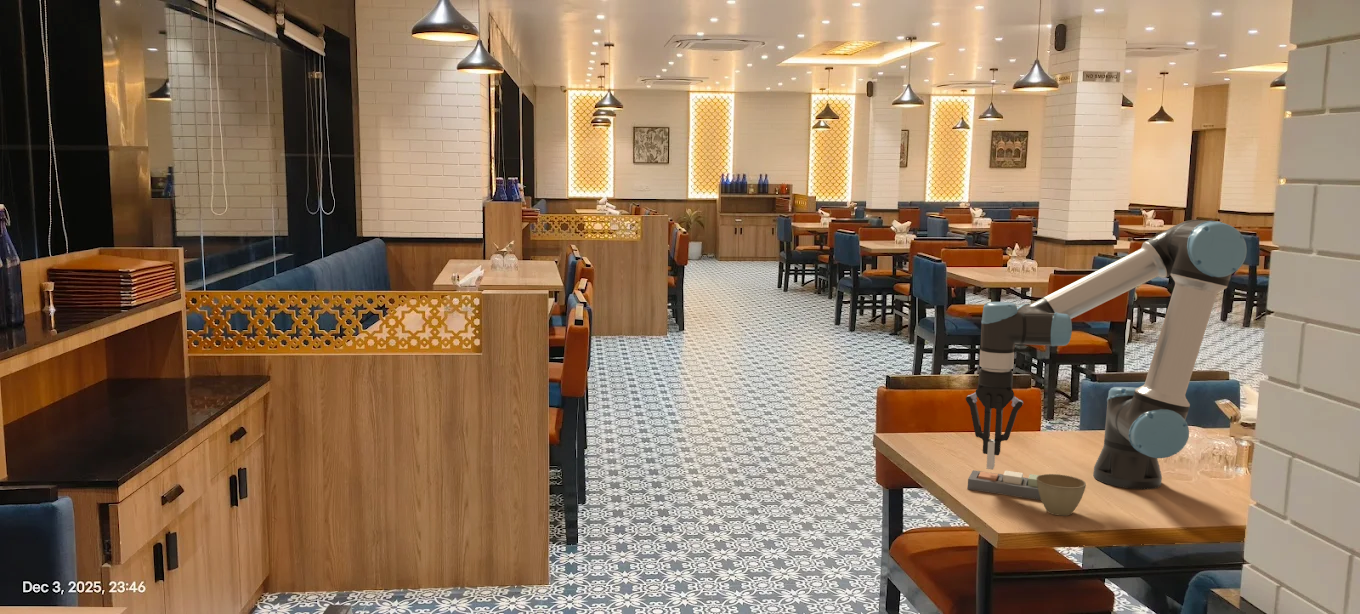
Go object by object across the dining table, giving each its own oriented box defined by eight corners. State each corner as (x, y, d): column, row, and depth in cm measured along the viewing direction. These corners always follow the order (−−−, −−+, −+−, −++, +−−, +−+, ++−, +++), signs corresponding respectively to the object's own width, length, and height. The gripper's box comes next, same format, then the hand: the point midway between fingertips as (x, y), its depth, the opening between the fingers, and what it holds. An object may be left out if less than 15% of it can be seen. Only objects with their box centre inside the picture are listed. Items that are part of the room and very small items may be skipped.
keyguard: (1056, 492, 227) (1057, 482, 226) (1054, 502, 219) (1055, 491, 219) (972, 479, 234) (972, 470, 234) (967, 488, 227) (968, 478, 227)
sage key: (1047, 487, 225) (1048, 476, 225) (1045, 491, 222) (1046, 481, 222) (1028, 484, 227) (1029, 473, 227) (1027, 489, 223) (1028, 478, 223)
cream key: (1022, 483, 228) (1023, 473, 227) (1020, 488, 224) (1021, 477, 224) (1004, 480, 229) (1005, 470, 229) (1002, 485, 226) (1003, 474, 225)
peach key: (997, 484, 230) (998, 474, 230) (995, 488, 226) (996, 478, 226) (979, 481, 232) (980, 471, 231) (977, 486, 228) (978, 475, 228)
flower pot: (1071, 504, 218) (1073, 473, 217) (1091, 520, 208) (1094, 488, 207) (1027, 503, 218) (1029, 472, 217) (1045, 519, 208) (1047, 487, 207)
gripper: (1027, 368, 226) (1021, 467, 229) (969, 363, 232) (964, 460, 235) (1024, 374, 219) (1018, 475, 222) (964, 369, 225) (959, 468, 228)
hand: (990, 467), depth 228 cm, fingers closed
